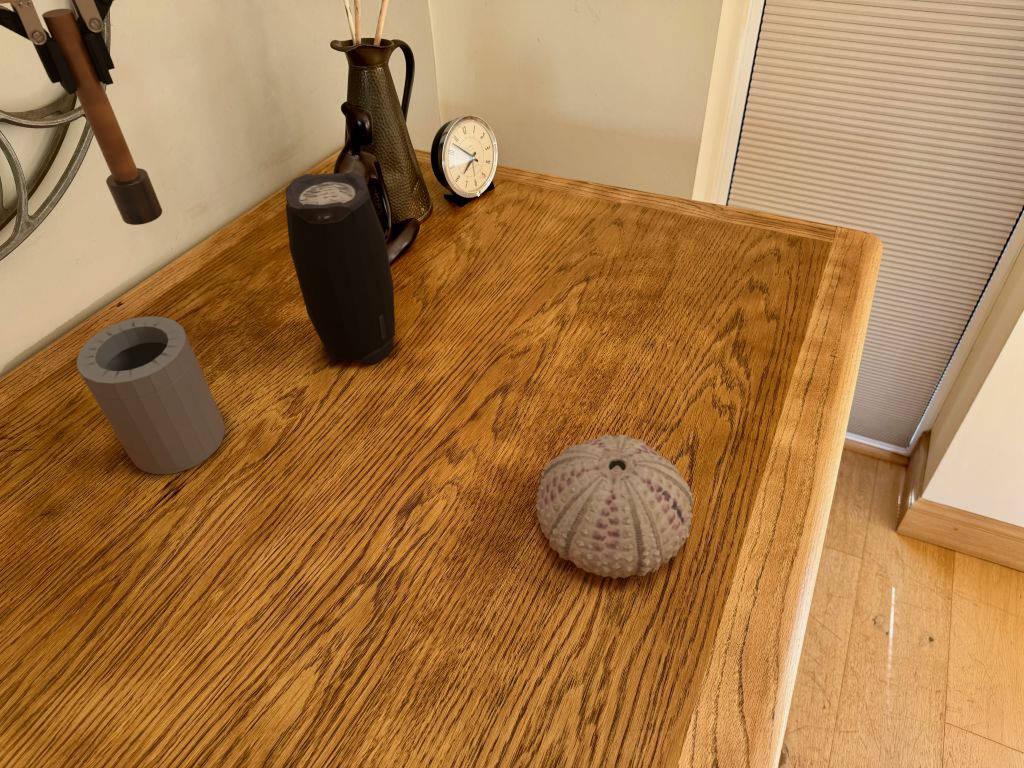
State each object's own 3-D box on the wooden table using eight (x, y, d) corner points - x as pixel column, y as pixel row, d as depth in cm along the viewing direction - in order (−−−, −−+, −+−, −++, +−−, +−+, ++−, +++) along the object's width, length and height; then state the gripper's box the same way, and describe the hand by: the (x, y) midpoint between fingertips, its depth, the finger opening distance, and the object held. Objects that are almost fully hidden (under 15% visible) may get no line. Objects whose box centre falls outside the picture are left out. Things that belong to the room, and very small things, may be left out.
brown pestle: (115, 224, 68) (22, 20, 56) (134, 205, 71) (49, 5, 58) (151, 226, 68) (65, 20, 56) (169, 206, 70) (90, 6, 58)
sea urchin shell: (643, 448, 70) (652, 388, 64) (719, 562, 60) (738, 502, 55) (513, 488, 66) (511, 428, 61) (573, 614, 57) (576, 557, 52)
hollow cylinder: (112, 470, 69) (54, 378, 61) (158, 404, 76) (111, 313, 67) (200, 478, 68) (154, 386, 60) (239, 411, 75) (202, 319, 66)
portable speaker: (308, 340, 83) (263, 182, 69) (383, 312, 86) (354, 157, 73) (336, 383, 77) (293, 221, 64) (415, 351, 81) (390, 191, 67)
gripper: (78, -208, 54) (166, 50, 66) (-180, -188, 47) (-27, 96, 60) (108, -203, 49) (196, 73, 62) (-172, -179, 42) (-9, 126, 55)
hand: (86, 82), depth 61 cm, fingers closed on brown pestle, 2 cm apart
